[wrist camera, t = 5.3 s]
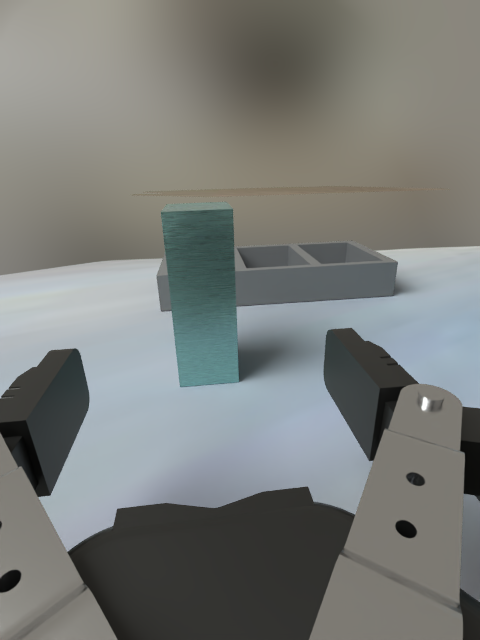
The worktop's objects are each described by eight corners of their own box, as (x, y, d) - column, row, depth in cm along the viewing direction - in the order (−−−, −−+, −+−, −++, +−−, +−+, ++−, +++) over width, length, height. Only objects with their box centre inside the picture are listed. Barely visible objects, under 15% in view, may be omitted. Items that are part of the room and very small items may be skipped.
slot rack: (350, 267, 45) (352, 238, 43) (392, 295, 35) (398, 259, 33) (169, 278, 43) (165, 248, 41) (161, 311, 33) (156, 273, 32)
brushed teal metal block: (232, 351, 25) (226, 201, 22) (238, 381, 22) (232, 208, 18) (182, 354, 25) (167, 204, 21) (180, 386, 21) (161, 211, 18)
